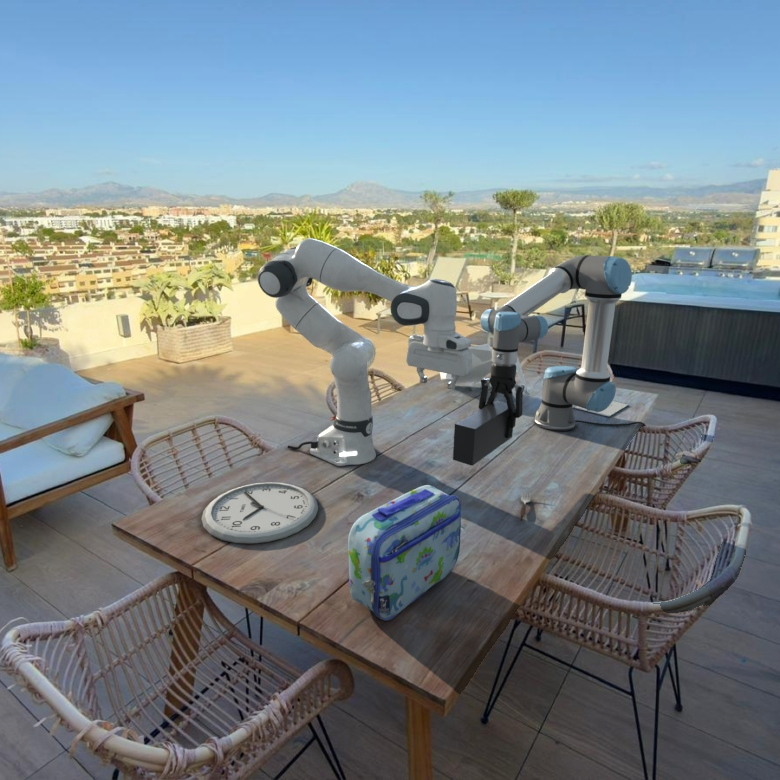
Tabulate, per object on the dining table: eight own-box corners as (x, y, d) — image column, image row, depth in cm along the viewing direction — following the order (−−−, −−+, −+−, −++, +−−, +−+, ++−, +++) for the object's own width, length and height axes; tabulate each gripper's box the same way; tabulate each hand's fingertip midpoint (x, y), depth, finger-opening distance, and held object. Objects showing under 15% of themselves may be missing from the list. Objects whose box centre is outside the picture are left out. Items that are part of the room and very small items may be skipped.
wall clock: (315, 535, 126) (186, 539, 123) (315, 541, 126) (187, 545, 123) (320, 478, 154) (216, 480, 152) (320, 483, 155) (216, 485, 152)
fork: (515, 521, 136) (516, 514, 135) (522, 493, 150) (523, 487, 150) (525, 523, 135) (526, 516, 135) (531, 495, 150) (532, 489, 149)
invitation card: (608, 416, 214) (573, 407, 224) (608, 416, 214) (573, 408, 224) (628, 404, 229) (594, 396, 238) (628, 405, 229) (594, 397, 238)
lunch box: (378, 635, 98) (379, 537, 91) (341, 606, 105) (340, 513, 99) (464, 574, 115) (470, 488, 109) (427, 553, 122) (431, 471, 116)
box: (493, 432, 171) (496, 400, 167) (512, 437, 167) (515, 404, 164) (452, 459, 150) (454, 423, 147) (472, 465, 147) (474, 429, 143)
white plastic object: (461, 429, 252) (437, 405, 227) (444, 352, 274) (420, 323, 250) (535, 404, 240) (518, 377, 215) (510, 326, 262) (492, 293, 237)
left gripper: (402, 335, 150) (401, 381, 154) (465, 345, 139) (462, 395, 143) (414, 332, 155) (413, 376, 159) (476, 341, 143) (473, 389, 148)
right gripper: (469, 360, 161) (465, 430, 168) (529, 371, 150) (522, 445, 157) (481, 356, 167) (476, 423, 174) (539, 366, 156) (532, 437, 163)
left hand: (437, 385), depth 151 cm, fingers open, 8 cm apart
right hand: (498, 433), depth 166 cm, fingers closed on box, 6 cm apart
